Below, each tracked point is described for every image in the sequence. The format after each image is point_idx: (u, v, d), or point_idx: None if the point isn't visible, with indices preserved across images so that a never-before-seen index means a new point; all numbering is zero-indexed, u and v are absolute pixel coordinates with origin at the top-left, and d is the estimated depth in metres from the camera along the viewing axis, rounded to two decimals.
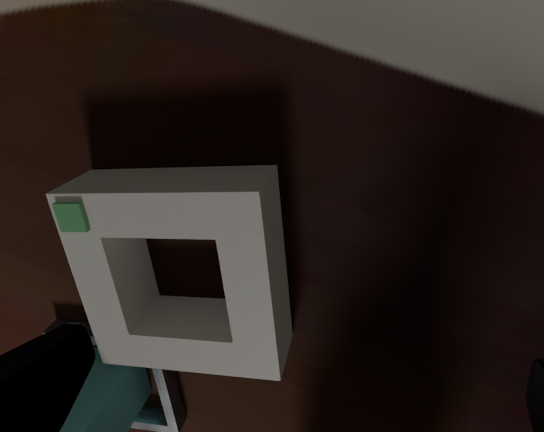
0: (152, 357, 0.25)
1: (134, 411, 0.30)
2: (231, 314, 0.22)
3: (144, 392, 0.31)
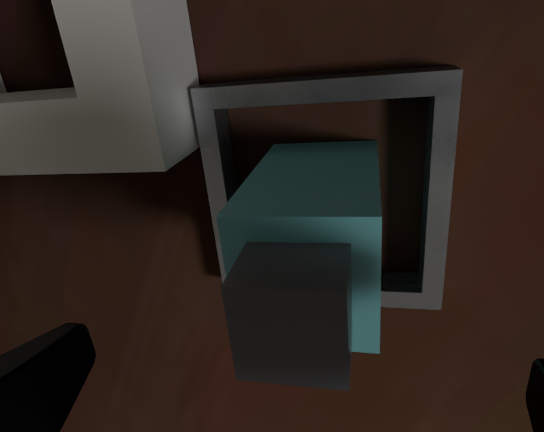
0: (114, 53, 0.12)
1: (359, 159, 0.14)
2: None
3: (354, 146, 0.15)
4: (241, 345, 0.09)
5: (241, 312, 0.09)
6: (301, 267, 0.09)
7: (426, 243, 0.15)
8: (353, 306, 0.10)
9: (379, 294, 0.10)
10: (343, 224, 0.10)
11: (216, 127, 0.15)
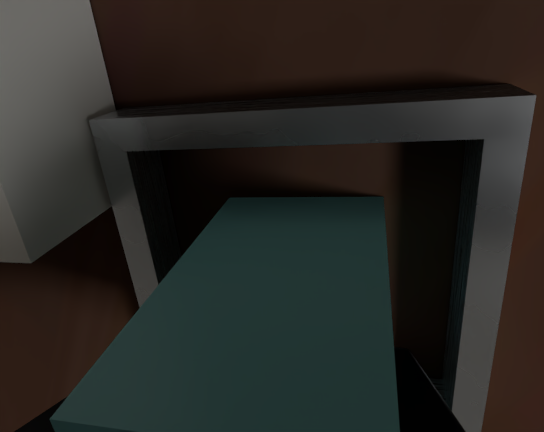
0: None
1: (355, 242, 0.08)
2: None
3: (348, 210, 0.10)
4: None
5: None
6: None
7: (459, 358, 0.10)
8: None
9: None
10: None
11: (133, 179, 0.10)
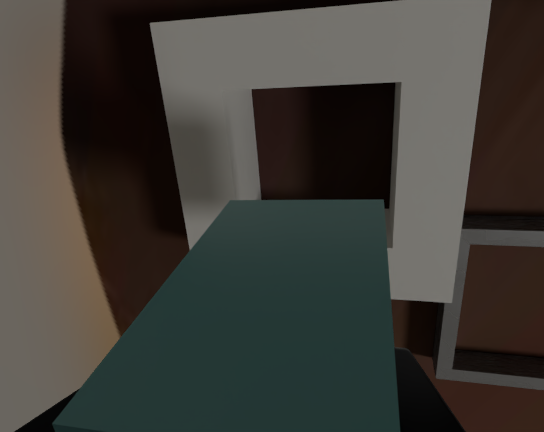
0: (437, 223, 0.16)
1: (355, 246, 0.08)
2: (343, 79, 0.14)
3: (349, 213, 0.10)
4: None
5: None
6: None
7: None
8: None
9: None
10: None
11: (467, 256, 0.19)
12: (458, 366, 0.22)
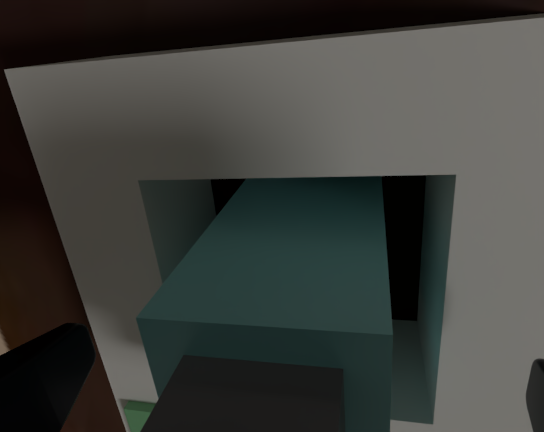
0: (513, 397, 0.09)
1: (357, 205, 0.10)
2: (347, 167, 0.08)
3: (351, 183, 0.11)
4: None
5: None
6: (259, 426, 0.05)
7: None
8: None
9: None
10: (330, 341, 0.06)
11: None
12: None
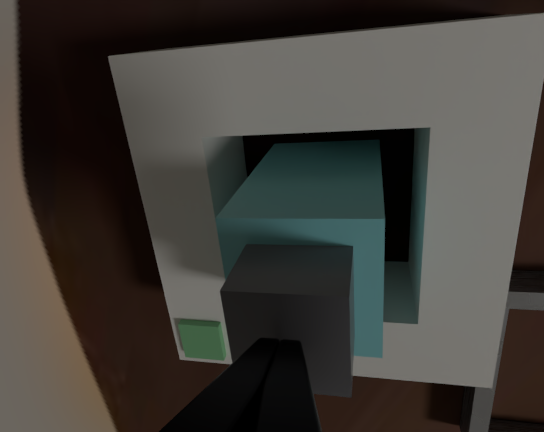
0: (475, 297, 0.13)
1: (361, 159, 0.13)
2: (354, 123, 0.11)
3: (356, 146, 0.15)
4: (241, 350, 0.09)
5: (240, 317, 0.09)
6: (302, 271, 0.09)
7: None
8: (355, 310, 0.10)
9: (382, 298, 0.10)
10: (345, 226, 0.09)
11: (506, 322, 0.16)
12: None
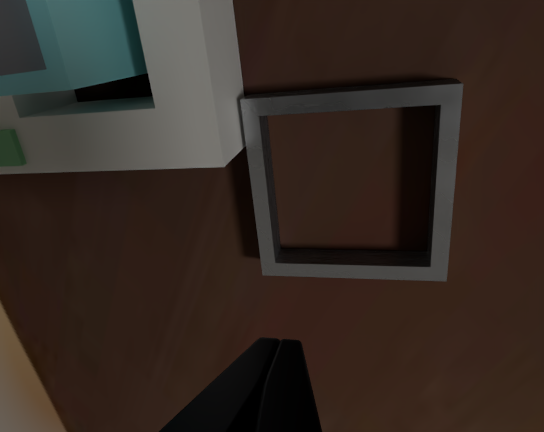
0: (187, 74, 0.15)
1: None
2: None
3: None
4: None
5: None
6: None
7: (434, 225, 0.18)
8: (39, 42, 0.13)
9: (52, 26, 0.13)
10: None
11: (260, 131, 0.18)
12: (282, 260, 0.21)
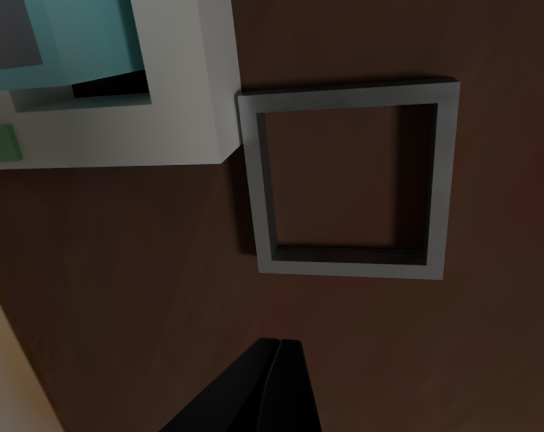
0: (184, 70, 0.15)
1: None
2: None
3: None
4: None
5: None
6: None
7: (430, 223, 0.18)
8: (35, 37, 0.13)
9: (49, 21, 0.13)
10: None
11: (257, 128, 0.18)
12: (279, 258, 0.21)
